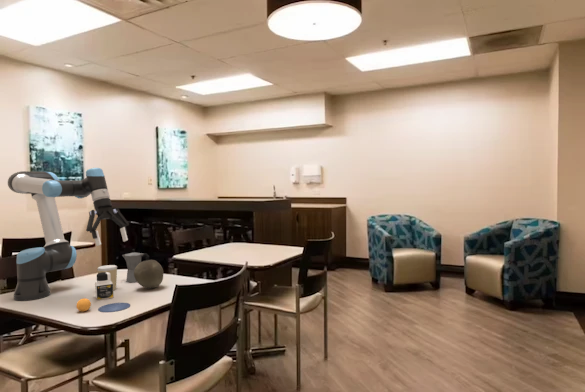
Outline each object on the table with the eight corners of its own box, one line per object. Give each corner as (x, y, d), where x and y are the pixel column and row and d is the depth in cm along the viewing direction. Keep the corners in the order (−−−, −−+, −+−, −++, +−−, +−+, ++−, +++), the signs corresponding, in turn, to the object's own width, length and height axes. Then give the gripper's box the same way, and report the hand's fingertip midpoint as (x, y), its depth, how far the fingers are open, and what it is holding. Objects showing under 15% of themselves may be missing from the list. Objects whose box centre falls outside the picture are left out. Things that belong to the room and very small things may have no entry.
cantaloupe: (149, 284, 216) (149, 256, 215) (169, 286, 210) (168, 258, 209) (128, 290, 203) (128, 261, 203) (149, 293, 197) (148, 263, 196)
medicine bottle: (97, 300, 187) (96, 275, 186) (95, 296, 193) (94, 272, 193) (113, 297, 191) (112, 273, 190) (111, 294, 197) (110, 270, 196)
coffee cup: (121, 287, 210) (120, 264, 210) (111, 292, 201) (110, 268, 201) (104, 287, 211) (103, 264, 211) (94, 292, 202) (93, 268, 201)
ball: (75, 314, 167) (75, 301, 167) (77, 310, 172) (77, 297, 172) (90, 312, 169) (90, 299, 169) (91, 308, 174) (91, 296, 174)
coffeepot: (119, 283, 220) (118, 250, 219) (126, 279, 229) (125, 248, 229) (146, 282, 219) (145, 250, 219) (153, 278, 229) (152, 247, 228)
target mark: (97, 313, 167) (97, 313, 167) (99, 305, 179) (99, 304, 179) (130, 309, 172) (130, 309, 172) (130, 301, 184) (130, 301, 184)
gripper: (79, 198, 175) (91, 244, 172) (129, 195, 196) (140, 237, 193) (71, 204, 178) (82, 249, 175) (120, 201, 200) (131, 241, 197)
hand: (112, 243), depth 184 cm, fingers open, 13 cm apart
